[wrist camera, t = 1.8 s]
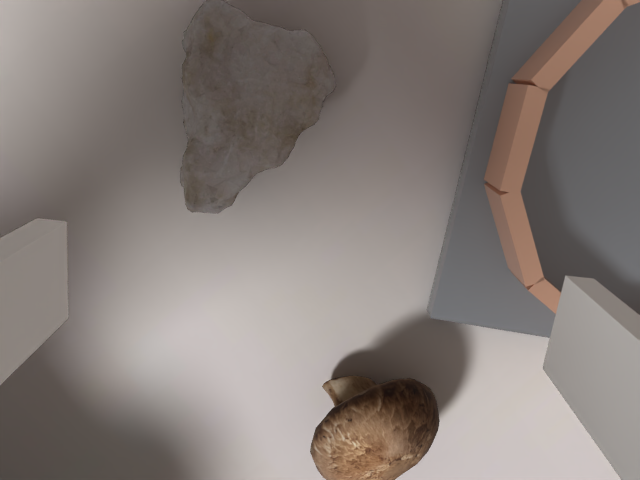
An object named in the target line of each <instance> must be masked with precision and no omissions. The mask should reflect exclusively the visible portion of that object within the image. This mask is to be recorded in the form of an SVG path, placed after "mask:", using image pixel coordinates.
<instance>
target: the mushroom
mask: <svg viewBox="0 0 640 480" xmlns="http://www.w3.org/2000/svg"><path fill="white" fill-rule="evenodd" d="M322 387H323V388H324V390H325V391H326V392H327V393H328V394H329V396H330V397H331V399H332V400H333V403H334V406H335V407H334V408H333V409H332V410H331V411H330V412H329V413H328V414H327V416H326V417H325V418H324V419H323V420H322V422H321V423H320V424H319V425H318V426H317V427H316V430H315V433H314V437H313V440H312V444H311V450H310V452H311V455H312V458H313V460H314V462H315V465H316V467H317V469H318V471H319V472H320V474H321V475H322V476H323V478H325V479H326V480H395V479H396V478H397V477H399V476H400V475H402V474H403V473H404V472H406V471H407V470H409V469H410V468H412V467H413V466H415V465H416V464H417V463H418V462H419V461H420V460H421V459H422V458H423V456H424V455H425V454H426V453H427V452H428V450H429V448H430V446H431V445H432V443H433V441H434V438H435V436H436V433H437V431H438V427H439V414H438V408H437V402H436V399H435V396H434V394H433V393H432V391H431V389H430V388H428V387H427V386H426V385H424V384H422V383H420V382H418V381H416V380H414V379H409V378H408V379H396V380H391V381H388V382H385V383H382V384H379V385H377V384H376V383H375V382H374V381H372V380H371V379H369V378H365V377H359V376H346V377H339V378H335V379H331V380H329V381H327V382H326V383H324V385H323V386H322Z"/></svg>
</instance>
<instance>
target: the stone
mask: <svg viewBox="0 0 640 480" xmlns="http://www.w3.org/2000/svg"><path fill="white" fill-rule="evenodd" d="M182 45H183V48H184V51H185V52H186V59H185V61H184V63H183V64H182V75H183V76H182V82H183V86H184V88H183V99H182V108H183V110H184V122H183V123H184V126H185V130H186V134H187V137H188V144H187V149H186V151H185V153H184V155H183V163H182V164H183V166H182V167H181V170H180V182H181V185H182V186H183V187H184V195H185V203H186V206H187V209H188V210H190V211H191V212H203V213H220V212H221V211H222V210H224V209H225V208H227V207H229V206H231V205H232V204H233V202H234V201H235V198H236V197H237V195H238V193H239V191H241V190H242V189H243V188H244V187H245V186H246V185H247V184H248V183H249V182H250V180H251V179H252V178H253V177H254V176H255V175H256V174H257V173H259V172H262V171H264V170H266V169H271V168H275V167H278V166H280V165H282V164H283V163H284V162H285V160H286V159H287V158H288V157H289V154H290V152H291V151H292V149H293V148H294V145H295V142H296V140H297V138H298V136H299V135H300V133H301V132H302V131H304V130H305V129H307V128H308V127H310V126H312V125H314V124H315V123H316V122H317V121H318V119H319V113H320V111H321V108H322V107H323V105H322V103H323V101H324V99H325V97H326V96H327V95H328V94H330V93H332V92H333V90H334V89H335V88H336V82H335V78H334V73H333V72H332V70H331V68H330V66H329V64H328V61H327V57H326V56H325V54H324V53H323V51H322V48H321V46H320V45H319V44H318V42H317V41H316V40H315V39H314V38H313V37H312V36H311V35H310V34H309V33H308V32H307V31H306V30H295V31H288V30H286V29H284V28H282V27H277V26H272V25H269V24H267V23H263V22H257V21H254V20H252V19H251V18H250V17H248V16H247V15H246V14H245V13H244V12H242V11H241V10H240V9H238V8H235V7H233V6H232V5H229V4H228V3H227V2H225V1H223V0H206V1H205V2H204V3H203V5H202V6H201V7H200V8H199V10H198V11H197V13H196V14H195V16H194V17H193V19H192V21H191V24H190V25H189V26H188V28H187V30H186V31H184V39H183V40H182Z"/></svg>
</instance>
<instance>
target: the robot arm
mask: <svg viewBox="0 0 640 480" xmlns="http://www.w3.org/2000/svg"><path fill="white" fill-rule="evenodd" d="M67 319H68V259H67V221H59V220H50V219H41V218H37V219H35V220H33V221H31V222H29V223H27V224H25V225H23V226H21V227H20V228H18V229H16V230H14V231H12V232H10V233H8V234H6V235H5V236H3V237H1V238H0V385H1V384H2V383H3V382H4V381H5V380H6V379H7V378H8V377H9V376H10V375H11V374H12V373H13V372H14V371H15V370H16V369H17V368H18V367H19V366H20V365H21V364H22V363H24V362H25V361H26V360H27V359H28V358H29V357H30V356H31V355H32V354H33V353H34V352H35V351H36V350H37V349H38V348H39V347H40V346H41V345H42V344H43V343H44V342H45V341H46V340H47V339H48V338H49V337H50V336H51V335H52V334H53V333H54V332H55V331H56V330H57V329H58V328H59V327H60V326H61V325H62V324H63V323H64V322H65V321H66V320H67ZM543 370H544V371H545V372H546V374H547V375H548V377H549V378H550V380H551V381H552V382H553V384H554V385H555V387H556V388H557V389H558V391H559V392H560V394H561V395H562V396H563V398H564V399H565V401H566V402H567V403H568V405H569V406H570V408H571V409H572V411H573V412H574V413H575V415H576V416H577V418H578V419H579V420H580V422H581V423H582V425H583V426H584V427H585V429H586V430H587V432H588V433H589V435H590V436H591V437H592V439H593V440H594V442H595V443H596V444H597V446H598V447H599V449H600V450H601V451H602V453H603V454H604V456H605V457H606V459H607V460H608V461H609V463H610V464H611V466H612V467H613V468H614V470H615V471H616V473H617V474H618V475H619V477H620V478H621V480H640V315H639V314H637V313H636V312H635V311H634V310H632V309H631V308H630V307H629V306H627V305H626V304H625V303H624V302H623V301H621V300H620V299H619V298H618V297H616V296H615V295H614V294H613V293H611V292H610V291H609V290H608V289H606V288H605V287H604V286H603V285H601V284H600V283H599V282H598V281H596V280H595V279H593V278H584V277H575V276H566V275H565V279H564V283H563V287H562V291H561V295H560V299H559V303H558V307H557V311H556V315H555V319H554V324H553V328H552V332H551V336H550V340H549V344H548V348H547V352H546V356H545V360H544V364H543Z"/></svg>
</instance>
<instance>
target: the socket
mask: <svg viewBox="0 0 640 480" xmlns="http://www.w3.org/2000/svg"><path fill="white" fill-rule="evenodd" d="M565 275H566V276H575V277H584V278H593V279H595V280H596V281H598V282H599V283H600V284H601V285H603V286H604V287H605V288H606V289H608V290H609V291H610V292H611V293H613V294H614V295H615V296H616V297H618V298H619V299H620V300H621V301H623V302H624V303H625V304H626V305H627V306H629V307H630V308H631V309H632V310H634V311H635V312H636V313H637V314H639V315H640V0H503V3H502V7H501V11H500V15H499V19H498V23H497V27H496V31H495V35H494V39H493V43H492V47H491V51H490V56H489V60H488V64H487V68H486V72H485V76H484V80H483V84H482V88H481V92H480V96H479V100H478V104H477V108H476V112H475V117H474V121H473V125H472V129H471V133H470V137H469V141H468V145H467V149H466V153H465V157H464V161H463V165H462V169H461V173H460V177H459V182H458V186H457V190H456V194H455V198H454V202H453V206H452V210H451V214H450V218H449V222H448V226H447V230H446V234H445V238H444V242H443V247H442V251H441V255H440V259H439V263H438V267H437V271H436V275H435V279H434V283H433V287H432V291H431V295H430V299H429V303H428V308H427V311H428V314H429V316H430V318H433V319H439V320H445V321H451V322H457V323H463V324H469V325H475V326H481V327H487V328H493V329H499V330H505V331H512V332H518V333H524V334H530V335H536V336H542V337H548V338H550V336H551V332H552V328H553V324H554V319H555V315H556V311H557V307H558V303H559V299H560V295H561V291H562V287H563V283H564V279H565Z"/></svg>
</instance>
